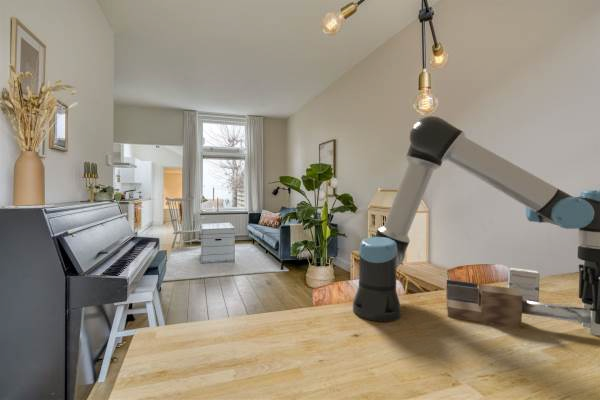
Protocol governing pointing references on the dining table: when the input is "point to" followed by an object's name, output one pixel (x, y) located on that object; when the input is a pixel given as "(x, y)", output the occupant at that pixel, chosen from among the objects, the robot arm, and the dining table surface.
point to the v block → (462, 291)
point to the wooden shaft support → (491, 306)
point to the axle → (556, 311)
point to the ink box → (525, 283)
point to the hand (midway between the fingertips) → (592, 330)
